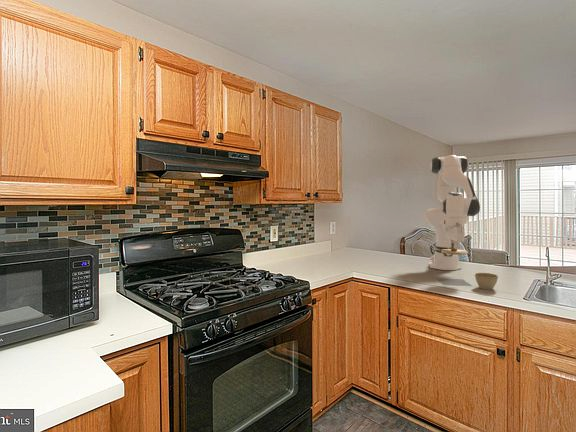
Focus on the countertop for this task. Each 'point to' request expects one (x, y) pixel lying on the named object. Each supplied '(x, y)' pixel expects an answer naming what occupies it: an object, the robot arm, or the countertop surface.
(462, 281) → the mat
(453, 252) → the lid
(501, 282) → the countertop surface
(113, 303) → the countertop surface
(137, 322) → the countertop surface
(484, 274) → the olive bowl
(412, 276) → the countertop surface
